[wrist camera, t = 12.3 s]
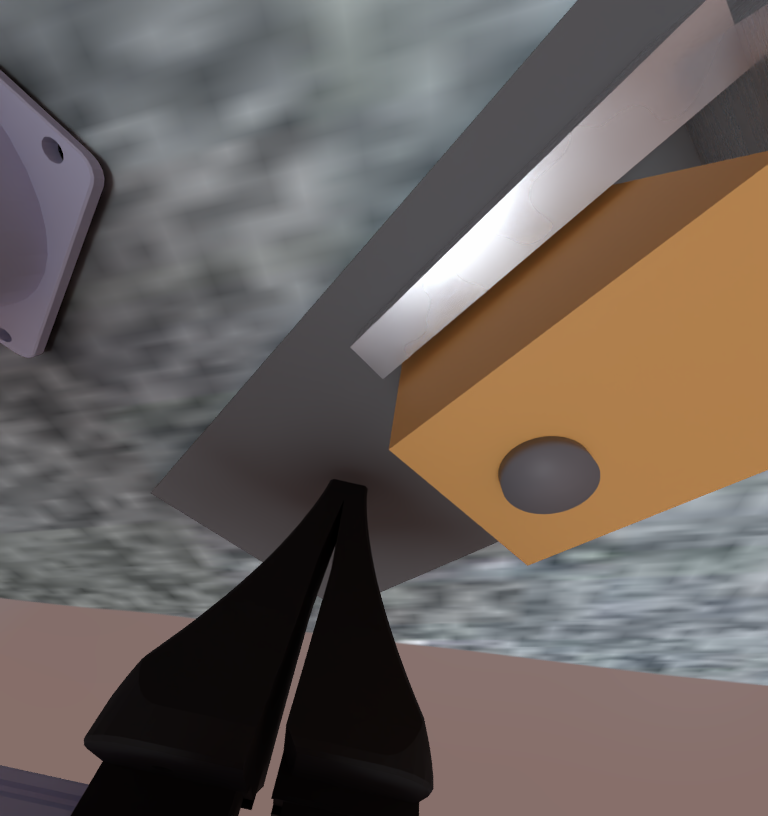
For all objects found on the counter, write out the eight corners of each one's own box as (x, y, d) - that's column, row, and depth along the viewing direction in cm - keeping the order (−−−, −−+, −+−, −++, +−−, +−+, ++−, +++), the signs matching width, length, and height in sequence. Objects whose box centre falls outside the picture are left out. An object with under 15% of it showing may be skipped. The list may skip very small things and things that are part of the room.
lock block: (402, 361, 10) (387, 460, 5) (591, 189, 7) (826, 138, 3) (491, 447, 11) (531, 578, 7) (679, 330, 8) (925, 430, 4)
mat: (160, 483, 15) (150, 493, 14) (1165, -670, 3) (1304, -839, 3) (342, 598, 18) (340, 609, 18) (1125, 246, 7) (1182, 248, 6)
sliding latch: (360, 328, 9) (327, 385, 6) (881, -186, 4) (2190, -1367, 1) (514, 485, 12) (549, 585, 8) (956, 260, 7) (1440, 292, 4)
